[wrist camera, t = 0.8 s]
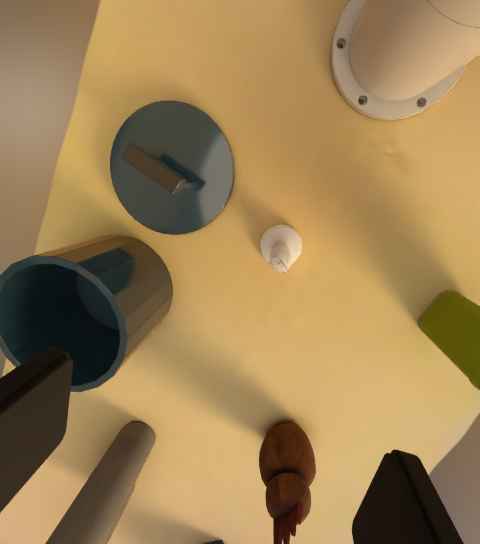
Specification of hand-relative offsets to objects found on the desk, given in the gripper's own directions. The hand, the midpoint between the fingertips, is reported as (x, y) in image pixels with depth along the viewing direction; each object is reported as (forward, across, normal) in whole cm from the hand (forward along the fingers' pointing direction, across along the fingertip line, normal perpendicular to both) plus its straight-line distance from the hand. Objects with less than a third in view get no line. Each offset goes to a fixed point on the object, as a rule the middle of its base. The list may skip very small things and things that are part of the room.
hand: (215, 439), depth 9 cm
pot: (+29, +16, +10) cm, 35 cm away
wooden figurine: (+30, -10, +24) cm, 39 cm away
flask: (+30, +12, +37) cm, 48 cm away
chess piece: (+29, -2, -1) cm, 29 cm away
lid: (+29, +12, -6) cm, 32 cm away
